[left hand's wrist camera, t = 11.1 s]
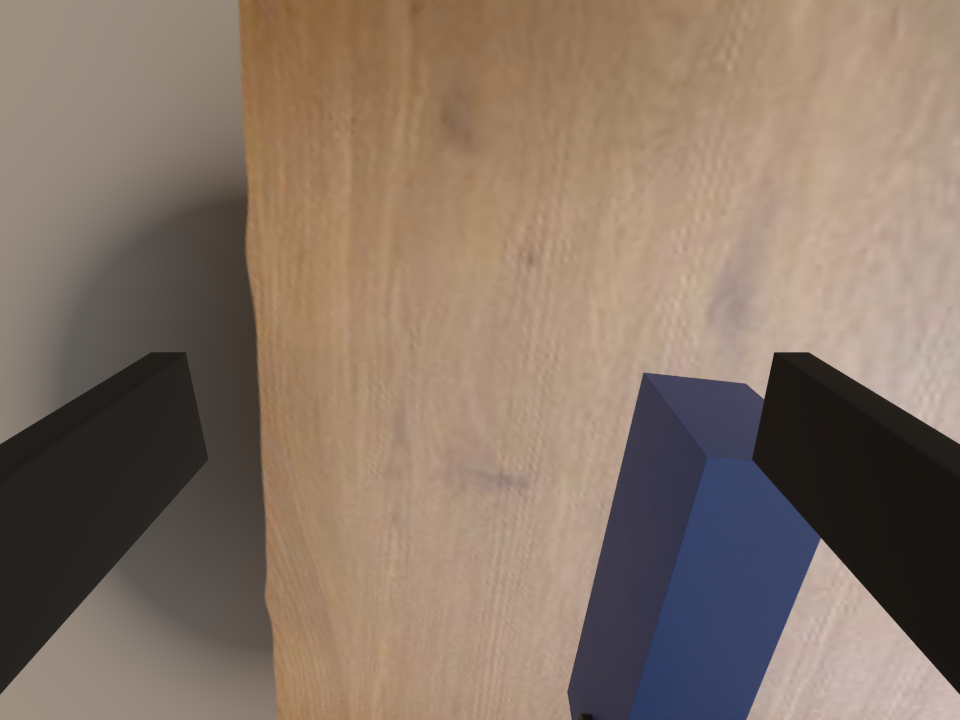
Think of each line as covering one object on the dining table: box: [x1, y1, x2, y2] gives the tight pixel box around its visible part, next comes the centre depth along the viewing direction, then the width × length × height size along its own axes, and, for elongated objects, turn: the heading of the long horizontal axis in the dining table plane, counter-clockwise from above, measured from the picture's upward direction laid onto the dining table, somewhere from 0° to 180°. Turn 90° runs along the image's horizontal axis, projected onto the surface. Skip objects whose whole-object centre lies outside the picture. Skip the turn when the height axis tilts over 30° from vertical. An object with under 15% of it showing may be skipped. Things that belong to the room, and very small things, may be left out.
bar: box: [568, 373, 821, 720], centre depth 30 cm, size 24×6×9 cm, turn 174°
